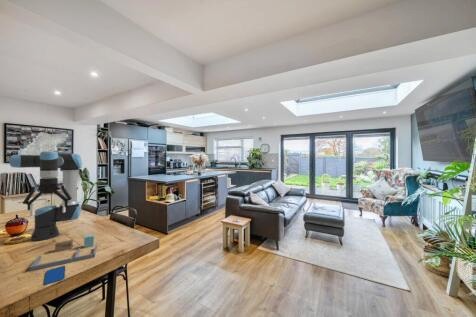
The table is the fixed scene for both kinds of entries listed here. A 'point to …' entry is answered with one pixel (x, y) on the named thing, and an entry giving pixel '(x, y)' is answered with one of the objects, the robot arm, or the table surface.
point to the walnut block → (63, 245)
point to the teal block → (89, 240)
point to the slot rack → (76, 258)
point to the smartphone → (54, 275)
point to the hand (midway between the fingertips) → (48, 213)
